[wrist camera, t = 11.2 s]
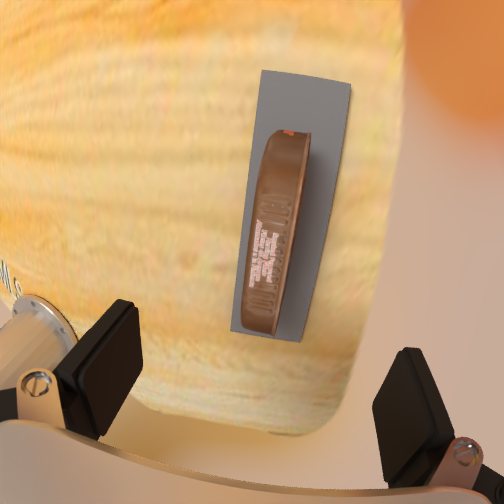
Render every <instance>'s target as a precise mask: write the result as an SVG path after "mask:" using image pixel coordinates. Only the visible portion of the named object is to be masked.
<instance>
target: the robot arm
mask: <svg viewBox="0 0 504 504" xmlns="http://www.w3.org/2000/svg"><path fill="white" fill-rule="evenodd" d="M142 368H143V356H142V347H141V336H140V325H139V311H138V308H137V307H135V306H134V303H133V302H129V301H125V300H121V299H118V300H116V301H115V302H114V303H113V304H112V306H111V307H110V308H109V309H108V310H107V311H106V312H105V313H104V314H103V315H102V317H101V318H100V319H99V320H98V321H97V322H96V323H95V324H94V325H93V327H92V328H90V329H89V330H88V331H87V332H86V333H85V334H84V335H83V337H82V338H81V339H80V340H79V341H78V342H77V339H76V337H75V334H74V333H73V331H72V329H71V327H70V326H69V324H68V323H67V321H66V320H65V319H64V317H63V316H62V315H61V314H60V313H59V312H58V311H57V310H56V309H55V308H54V307H53V306H52V305H51V304H49V303H48V302H47V301H45V300H43V299H42V298H40V297H37V296H35V295H30V294H28V295H23V296H21V297H20V298H19V299H18V300H16V302H15V303H14V305H13V318H12V319H11V320H9V321H8V322H7V323H6V324H5V325H4V326H3V327H2V328H0V504H504V477H503V476H501V475H500V474H498V473H497V472H495V471H493V470H492V469H490V468H489V467H487V466H485V465H484V464H482V462H483V451H482V449H481V447H480V446H479V444H478V443H477V442H475V441H474V440H473V439H470V438H468V437H459V438H455V435H454V429H453V426H452V424H451V421H450V418H449V416H448V413H447V410H446V408H445V405H444V403H443V400H442V398H441V395H440V393H439V390H438V388H437V386H436V383H435V381H434V378H433V376H432V374H431V371H430V369H429V367H428V365H427V362H426V360H425V358H424V356H423V354H422V351H421V350H420V349H419V348H410V347H405V348H404V349H403V350H402V351H399V352H398V354H397V355H396V358H395V360H394V362H393V364H392V366H391V368H390V370H389V372H388V374H387V376H386V378H385V380H384V382H383V384H382V386H381V388H380V390H379V392H378V394H377V395H376V397H375V399H374V401H373V405H372V411H373V416H374V421H375V427H376V433H377V438H378V445H379V451H380V457H381V464H382V470H383V477H384V481H385V482H388V487H389V489H363V490H335V489H311V488H297V487H285V486H275V485H267V484H259V483H252V482H246V481H239V480H233V479H228V478H223V477H218V476H213V475H208V474H203V473H199V472H194V471H190V470H186V469H182V468H178V467H175V466H171V465H167V464H163V463H160V462H156V461H153V460H150V459H147V458H144V457H141V456H138V455H135V454H132V453H129V452H126V451H123V450H120V449H117V448H114V447H111V446H108V445H106V444H103V443H100V442H98V439H99V437H100V435H101V436H104V435H105V434H106V433H107V431H108V429H109V427H110V426H111V424H112V422H113V420H114V418H115V417H116V415H117V413H118V411H119V410H120V408H121V406H122V404H123V403H124V401H125V399H126V397H127V395H128V394H129V392H130V390H131V388H132V387H133V385H134V383H135V382H136V380H137V378H138V376H139V375H140V373H141V371H142Z"/></svg>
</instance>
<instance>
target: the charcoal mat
mask: <svg viewBox="0 0 504 504" xmlns="http://www.w3.org/2000/svg"><path fill="white" fill-rule="evenodd" d="M350 88H351V84H349V83H344V82H339V81H334V80H329V79H323V78H318V77H312V76H306V75H299V74H292V73H285V72H277V71H269V70H262V73H261V80H260V88H259V96H258V103H257V111H256V119H255V126H254V134H253V142H252V150H251V158H250V166H249V174H248V182H247V190H246V199H245V207H244V215H243V224H242V232H241V241H240V249H239V258H238V267H237V275H236V284H235V293H234V302H233V311H232V320H231V329H230V331H232V332H238V333H243V334H249V335H255V336H261V337H267V338H273V339H279V340H286V341H292V342H299V343H300V341H301V337H302V333H303V329H304V326H305V322H306V318H307V314H308V310H309V306H310V302H311V297H312V293H313V289H314V285H315V281H316V276H317V272H318V268H319V263H320V259H321V254H322V249H323V245H324V240H325V235H326V231H327V226H328V221H329V216H330V211H331V206H332V200H333V195H334V190H335V184H336V179H337V173H338V167H339V162H340V156H341V150H342V144H343V137H344V131H345V124H346V117H347V110H348V103H349V96H350ZM277 130H289V131H295V132H301V133H308V132H310V133H311V143H310V153H309V160H308V167H307V174H306V181H305V187H304V193H303V199H302V205H301V210H300V216H299V221H298V227H297V232H296V238H295V244H294V249H293V255H292V260H291V264H290V269H289V276H288V280H287V286H286V291H285V295H284V299H283V303H282V307H281V312H280V316H279V322H278V326H277V330H276V334H275V337H273V336H271V335H269V334H265V333H260V332H255V331H251V330H248V329H245V328H243V327H242V325H241V320H240V312H241V300H242V291H243V281H244V273H245V265H246V256H247V249H248V240H249V233H250V226H251V219H252V211H253V204H254V197H255V190H256V184H257V179H258V173H259V169H260V164H261V160H262V156H263V153H264V150H265V146H266V144H267V141H268V139H269V137H270V136H271V135H272V134H273V133H274V132H276V131H277Z"/></svg>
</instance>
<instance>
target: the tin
mask: <svg viewBox="0 0 504 504" xmlns="http://www.w3.org/2000/svg"><path fill="white" fill-rule="evenodd" d="M310 143H311V133H310V132H308V133H301V132H295V131H289V130H277V131H276V132H274V133H273V134H272V135H271V136H270V137H269V139H268V141H267V144H266V146H265V150H264V153H263V156H262V160H261V164H260V169H259V173H258V179H257V184H256V190H255V197H254V204H253V211H252V219H251V226H250V233H249V240H248V249H247V256H246V265H245V273H244V281H243V291H242V300H241V312H240V320H241V325H242V327H243V328H245V329H248V330H251V331H255V332H260V333H265V334H269V335H271V336H273V337H275V334H276V330H277V326H278V322H279V316H280V312H281V307H282V303H283V299H284V295H285V291H286V286H287V280H288V276H289V269H290V264H291V260H292V255H293V249H294V244H295V238H296V232H297V227H298V221H299V216H300V210H301V205H302V199H303V193H304V187H305V181H306V174H307V167H308V160H309V153H310Z"/></svg>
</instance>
